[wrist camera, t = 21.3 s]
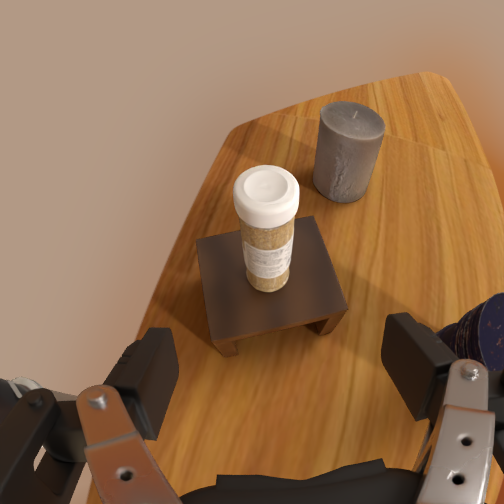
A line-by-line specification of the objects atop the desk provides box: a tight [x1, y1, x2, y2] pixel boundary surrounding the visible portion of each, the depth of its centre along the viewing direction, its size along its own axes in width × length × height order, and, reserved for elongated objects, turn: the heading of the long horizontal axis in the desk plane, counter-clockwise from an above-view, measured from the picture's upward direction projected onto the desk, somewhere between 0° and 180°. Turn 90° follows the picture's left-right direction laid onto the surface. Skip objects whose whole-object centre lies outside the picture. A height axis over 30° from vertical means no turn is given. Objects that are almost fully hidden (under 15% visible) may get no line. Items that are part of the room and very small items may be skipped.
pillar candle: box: [313, 101, 385, 203], centre depth 43 cm, size 10×10×15 cm
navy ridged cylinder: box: [435, 292, 504, 372], centre depth 26 cm, size 10×10×15 cm
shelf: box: [196, 216, 348, 357], centre depth 35 cm, size 14×12×9 cm
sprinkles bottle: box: [233, 165, 299, 292], centre depth 26 cm, size 5×5×13 cm
